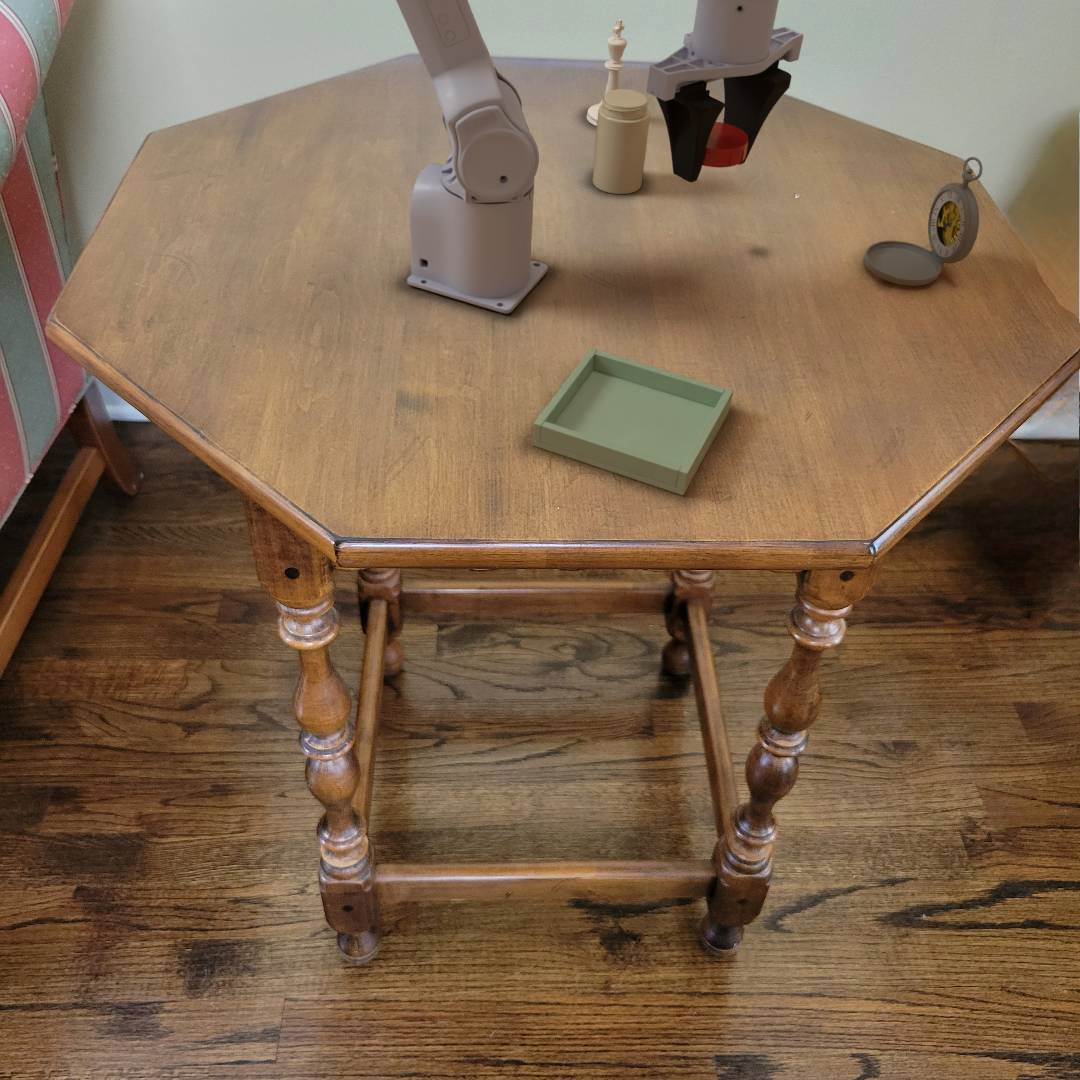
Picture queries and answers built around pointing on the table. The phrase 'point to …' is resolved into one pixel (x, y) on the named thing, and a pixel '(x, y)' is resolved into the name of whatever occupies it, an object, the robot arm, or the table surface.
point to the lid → (725, 146)
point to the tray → (633, 420)
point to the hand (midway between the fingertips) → (709, 167)
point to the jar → (621, 141)
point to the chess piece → (611, 67)
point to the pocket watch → (932, 238)
